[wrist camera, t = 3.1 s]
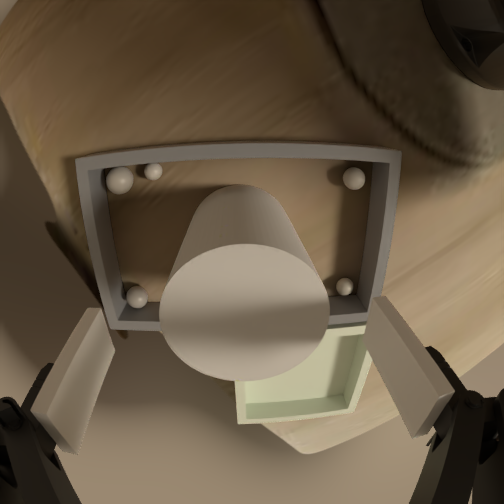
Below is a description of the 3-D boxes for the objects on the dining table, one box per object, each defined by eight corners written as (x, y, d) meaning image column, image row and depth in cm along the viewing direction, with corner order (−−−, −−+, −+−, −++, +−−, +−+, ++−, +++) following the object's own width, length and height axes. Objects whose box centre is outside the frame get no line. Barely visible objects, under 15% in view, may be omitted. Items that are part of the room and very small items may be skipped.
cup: (170, 231, 25) (127, 318, 14) (243, 163, 23) (251, 203, 12) (237, 293, 27) (241, 399, 16) (308, 235, 25) (359, 321, 15)
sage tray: (231, 314, 28) (231, 334, 26) (371, 305, 29) (383, 323, 26) (237, 404, 34) (237, 424, 31) (347, 394, 35) (353, 412, 32)
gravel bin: (91, 153, 21) (74, 159, 19) (384, 146, 23) (401, 151, 20) (119, 310, 28) (110, 329, 25) (363, 302, 29) (375, 320, 26)
